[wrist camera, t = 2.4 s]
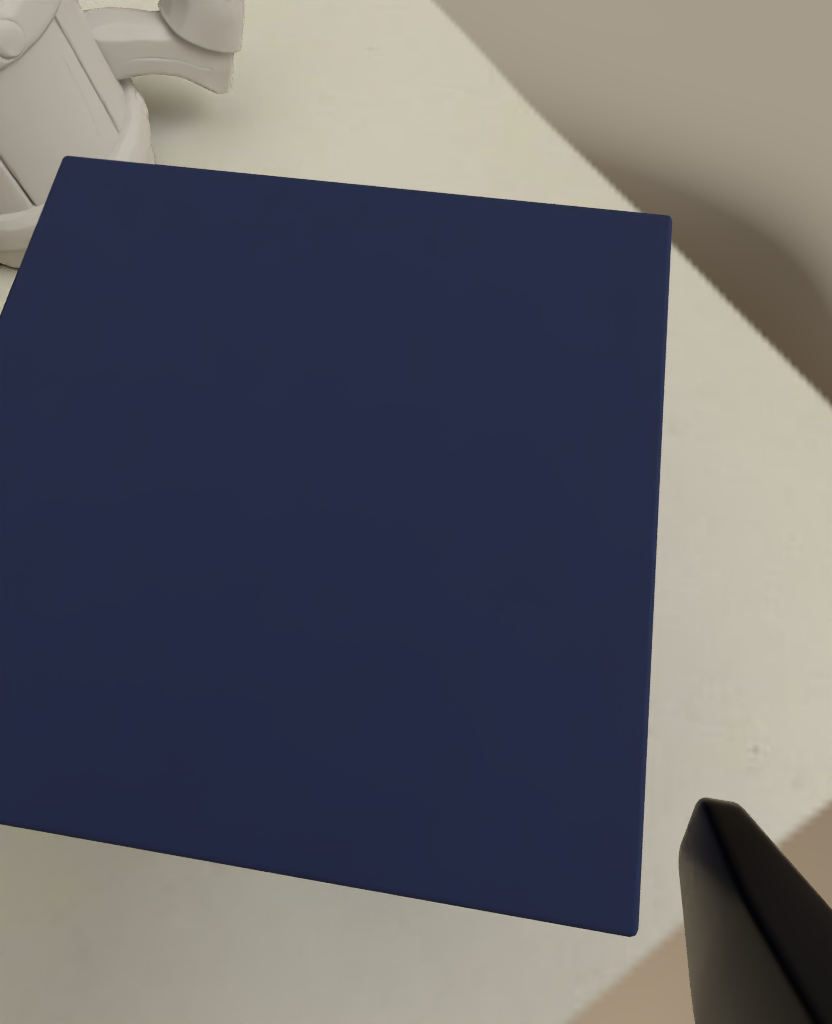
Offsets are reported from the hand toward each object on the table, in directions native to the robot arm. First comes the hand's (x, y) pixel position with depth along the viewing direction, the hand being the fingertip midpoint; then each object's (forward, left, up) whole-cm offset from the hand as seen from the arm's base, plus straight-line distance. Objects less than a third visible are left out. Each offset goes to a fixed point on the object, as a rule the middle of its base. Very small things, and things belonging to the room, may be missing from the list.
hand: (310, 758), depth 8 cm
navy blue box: (+6, -1, -9) cm, 11 cm away
